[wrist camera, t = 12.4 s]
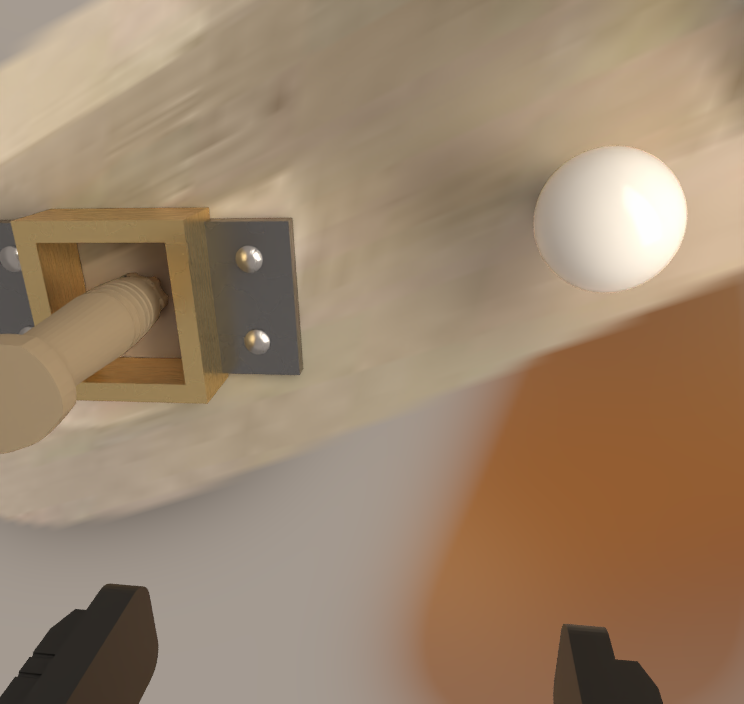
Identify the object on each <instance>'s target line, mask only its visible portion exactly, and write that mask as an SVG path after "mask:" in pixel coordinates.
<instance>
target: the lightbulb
mask: <svg viewBox="0 0 744 704" xmlns="http://www.w3.org/2000/svg"><path fill="white" fill-rule="evenodd" d="M686 225H687V204H686V199H685V195H684V192H683V189H682V187H681V185H680V183H679V181H678V179H677V178H676V176H675V175H674V173H673V172H672V171H671V170H670V168H669V167H668V166H667V165H666V164H664V163H663V162H662V161H661V160H660V159H658V158H657V157H655V156H653V155H652V154H650V153H648V152H646V151H643V150H640V149H637V148H634V147H629V146H619V145H611V146H602V147H597V148H593V149H590V150H587V151H584V152H582V153H580V154H578V155H576V156H574V157H572V158H571V159H569V160H568V161H566V162H565V163H564V164H563V165H561V166H560V167H559V168H558V169H557V170H556V171H555V172H554V173H553V174H552V175H551V177H550V178H549V179H548V181H547V182H546V184H545V185H544V187H543V189H542V191H541V193H540V195H539V197H538V200H537V203H536V206H535V211H534V218H533V230H534V237H535V242H536V245H537V248H538V251H539V253H540V255H541V257H542V259H543V260H544V262H545V263H546V265H547V266H548V267H549V268H550V270H551V271H552V272H553V273H554V274H555V275H557V276H558V277H559V278H560V279H562V280H563V281H565V282H566V283H568V284H570V285H572V286H574V287H576V288H579V289H581V290H585V291H589V292H594V293H616V292H622V291H626V290H629V289H632V288H635V287H637V286H640V285H642V284H644V283H646V282H647V281H649V280H651V279H652V278H654V277H655V276H656V275H657V274H659V273H660V272H661V271H662V270H663V269H664V268H665V267H666V266H667V265H668V264H669V263H670V261H671V260H672V259H673V257H674V256H675V254H676V253H677V251H678V249H679V247H680V245H681V243H682V240H683V238H684V234H685V231H686Z"/></svg>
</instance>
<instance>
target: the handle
mask: <svg viewBox="0 0 744 704" xmlns="http://www.w3.org/2000/svg"><path fill="white" fill-rule="evenodd" d="M167 303H168V296H167V295H166V294H165V293H164V292H163V290H162V288H161V286H160V281H159V280H158V279H157V278H156V277H154V276H153V277H143V276H140V275H139V274H137V273H130V274H126V275H124V276H121V277H120V278H119V279H115V280H112V281H109V282H106V283H104V284H102V285H100V286H97V287H95V288H93V289H91V290H89V291H87V292H85V293H84V294H82V295H80V296H78V297H76V298H74V299H73V300H72V301H70V302H69V303H67V304H66V305H64V306H63V307H62V308H60V309H59V310H57V311H56V312H55V313H53V314H52V315H50V316H49V317H47V318H46V319H45V320H43V321H42V322H40V323H39V324H37V325H36V326H34V327H33V328H31V329H30V330H28V331H27V332H26V333H24V334H23V335H20V334H0V454H4V453H9V452H13V451H16V450H19V449H22V448H24V447H27V446H30V445H33V444H35V443H37V442H39V441H40V440H42V439H43V438H44V437H46V436H47V435H48V434H49V433H50V432H51V431H52V430H53V429H54V428H55V427H56V426H57V425H58V424H59V423H60V422H61V421H62V420H63V419H64V418H65V416H66V415H67V414H68V413H69V411H70V410H71V409H72V408H73V406H74V405H75V404H76V397H77V394H76V385H78V384H79V383H81V382H82V381H84V380H85V379H87V378H88V377H90V376H91V375H93V374H94V373H96V372H97V371H99V370H100V369H102V368H103V367H105V366H106V365H108V364H109V363H111V362H112V361H114V360H115V359H117V358H118V357H120V356H121V355H123V354H124V353H125V352H127V351H128V350H129V349H130V348H131V347H132V346H134V345H135V344H136V343H137V342H138V341H139V340H140V339H141V338H142V337H143V336H144V335H145V334H146V333H147V332H148V331H149V330H150V328H151V327H152V326H153V324H154V323H155V322H156V321H157V320H158V318H159V315H160V314H159V313H160V311H161V309H163V308H164V307H165V306H166V305H167Z"/></svg>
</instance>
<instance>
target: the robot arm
mask: <svg viewBox="0 0 744 704" xmlns="http://www.w3.org/2000/svg"><path fill="white" fill-rule="evenodd" d="M157 658H158V639H157V634H156V629H155V623H154V617H153V612H152V606H151V601H150V595H149V592H148V590H147V588H146V587H143V586H130V585H119V584H106V585H105V586H103V587H102V589H101V590H100V591H99V593H98V594H97V595H96V597H95V598H94V600H93V601H92V603H91V604H90V605H89V607H88V608H87V610H79V609H75V610H74V611H72V612H71V613H70V614H69V615H67V616H66V617H65V618H63V619H62V620H61V621H60V622H58V623H57V624H56V625H55V626H53V627H52V628H51V629H50V630H49V632H48V633H47V634H46V635H45V637H44V638H43V640H42V641H41V642H40V644H39V645H38V646H37V648H36V649H35V651H34V652H33V656H32V657H29V659H28V660H27V661H26V663H25V664H24V666H23V667H22V668H21V670H20V671H19V675H18V677H15V678H14V679H13V680H12V682H11V683H10V685H9V686H8V687H7V689H6V690H5V691H4V693H3V694H2V695H1V697H0V704H139V702H140V700H141V698H142V696H143V694H144V692H145V690H146V688H147V686H148V684H149V682H150V680H151V678H152V676H153V673H154V670H155V667H156V663H157ZM553 697H554V698H553V700H554V704H663V702H662V699H661V695H660V692H659V689H658V687H657V686H656V685H655V683H654V682H653V681H652V679H651V678H650V677H649V676H648V674H647V673H646V672H645V670H644V669H643V668H642V667H641V665H640V664H639V663H638V662H637V661H626V660H615V656H614V653H613V649H612V645H611V642H610V638H609V634H608V632H607V630H606V628H605V627H595V626H583V625H572V624H563V626H562V630H561V636H560V643H559V650H558V658H557V665H556V672H555V680H554V692H553Z"/></svg>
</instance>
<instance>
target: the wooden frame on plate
mask: <svg viewBox="0 0 744 704" xmlns="http://www.w3.org/2000/svg"><path fill="white" fill-rule="evenodd" d="M77 243H165V248H166V254H167V261H168V268H169V275H170V282H171V289H172V296H173V302H174V309H175V316H176V323H177V330H178V337H179V343H180V350H181V357H182V358H129V357H118V358H117V359H115V360H114V361H112V362H111V363H109V364H108V365H106V366H105V367H103V368H102V369H100V370H99V371H97V372H96V373H94V374H93V375H91V376H90V377H88V378H87V379H85V380H84V381H82V382H81V383H79V384H78V385H76V394H77V397H76V400H90V401H128V402H166V403H205V404H208V402H209V401H210V400H211V398H212V397H213V396H214V395H215V393H216V392H217V391H218V389H219V388H220V387H221V385H222V384H223V383H224V382H225V380H226V379H227V378H228V373H232V374H280V375H300V374H301V372H302V370H303V360H302V346H301V332H300V318H299V304H298V290H297V276H296V262H295V248H294V235H293V221H292V218H219V219H210V216H209V208H96V209H49V210H46V211H43V212H39V213H36V214H33V215H30V216H26V217H23V218H20V219H16V220H0V334H20V335H23V334H24V333H26V332H27V331H28V330H30V329H31V328H33V327H34V326H36V325H37V324H39V323H40V322H42V321H43V320H45V319H46V318H47V317H49V316H50V315H52V314H53V313H55V312H56V311H57V310H59V309H60V308H62V307H63V306H64V305H66V304H67V303H69V302H70V301H72V300H73V299H74V298H76V297H78V296H80V295H82V294H84V293H85V292H86V289H85V284H84V278H83V273H82V268H81V263H80V258H79V253H78V248H77Z"/></svg>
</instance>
